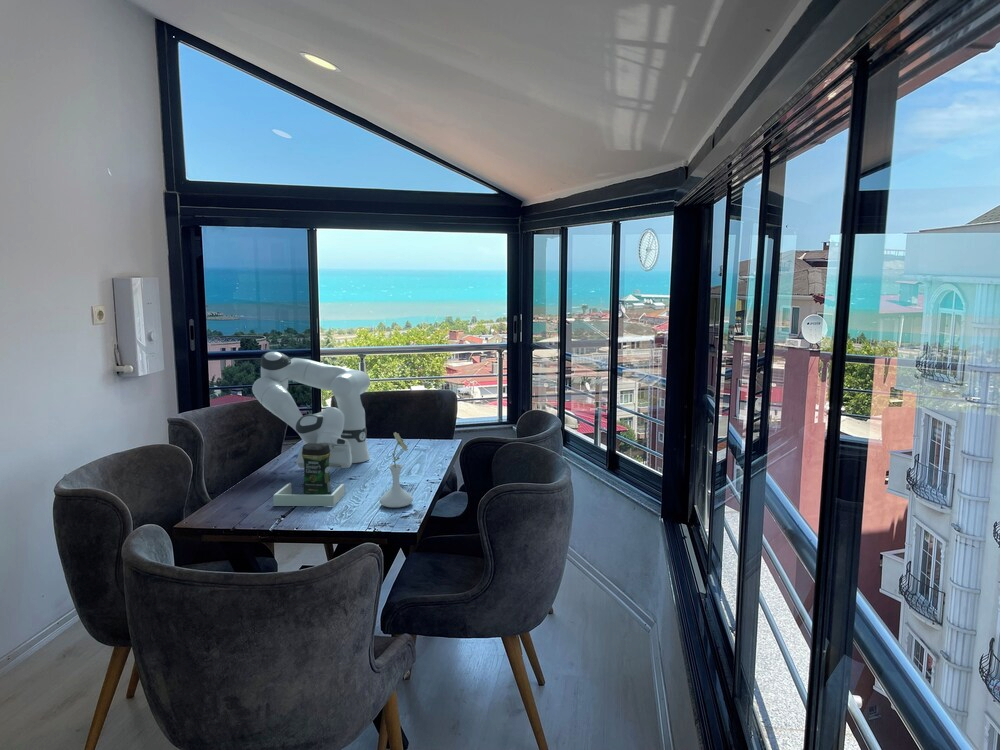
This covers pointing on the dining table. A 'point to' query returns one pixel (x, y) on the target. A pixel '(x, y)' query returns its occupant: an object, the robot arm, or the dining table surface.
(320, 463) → the coffee jar
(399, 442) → the flower in vase
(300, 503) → the report bay
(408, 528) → the dining table surface
